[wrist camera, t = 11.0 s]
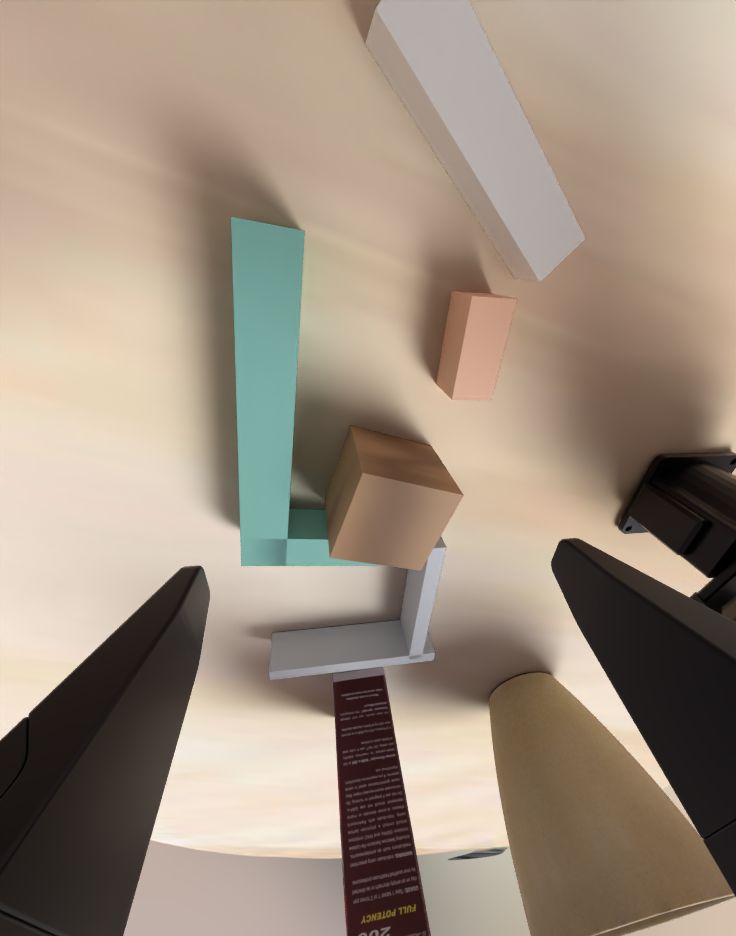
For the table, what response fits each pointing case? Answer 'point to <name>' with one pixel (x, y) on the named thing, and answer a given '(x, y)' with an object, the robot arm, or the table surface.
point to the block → (388, 500)
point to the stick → (476, 128)
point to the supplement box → (374, 813)
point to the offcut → (474, 344)
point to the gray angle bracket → (365, 634)
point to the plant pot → (590, 821)
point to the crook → (270, 398)
